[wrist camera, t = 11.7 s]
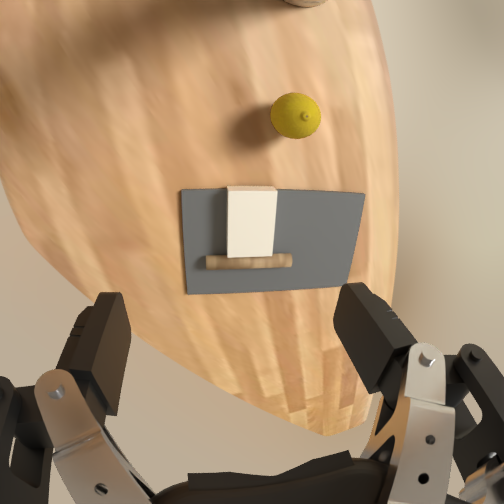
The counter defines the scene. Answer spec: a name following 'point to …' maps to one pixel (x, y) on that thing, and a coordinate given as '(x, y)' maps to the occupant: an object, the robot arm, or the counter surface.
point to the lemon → (295, 115)
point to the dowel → (248, 262)
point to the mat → (285, 241)
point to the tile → (250, 220)
